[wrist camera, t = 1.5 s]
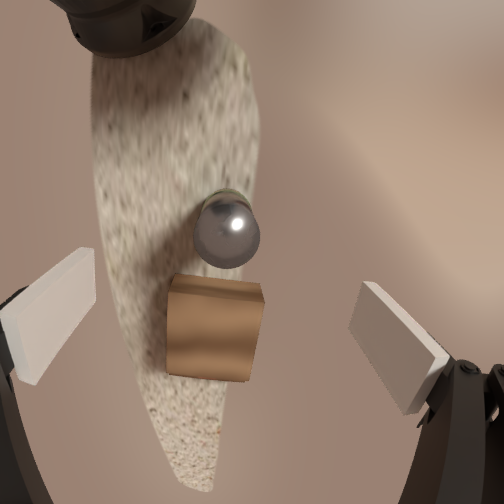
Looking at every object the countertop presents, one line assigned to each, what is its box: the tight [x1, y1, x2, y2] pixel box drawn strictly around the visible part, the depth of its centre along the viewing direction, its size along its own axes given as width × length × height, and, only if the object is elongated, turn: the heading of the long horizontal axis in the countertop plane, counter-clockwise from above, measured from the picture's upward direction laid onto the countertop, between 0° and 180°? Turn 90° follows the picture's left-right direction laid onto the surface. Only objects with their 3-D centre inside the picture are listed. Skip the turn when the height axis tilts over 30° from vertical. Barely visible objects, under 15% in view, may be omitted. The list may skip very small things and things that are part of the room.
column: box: [193, 189, 260, 269], centre depth 28 cm, size 5×5×11 cm
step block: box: [166, 273, 265, 382], centre depth 35 cm, size 14×10×5 cm
